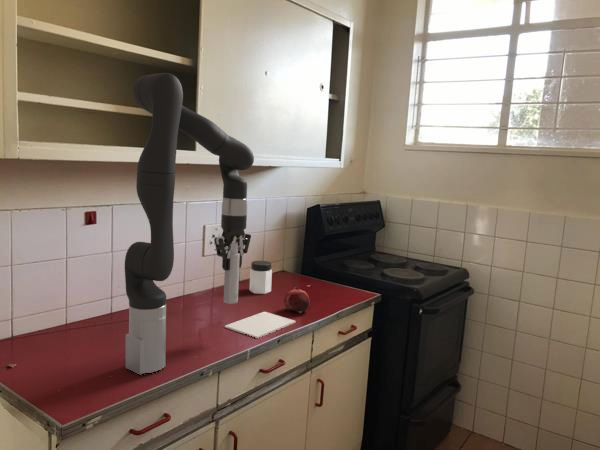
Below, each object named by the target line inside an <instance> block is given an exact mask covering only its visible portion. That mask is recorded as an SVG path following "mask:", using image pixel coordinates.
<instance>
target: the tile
mask: <svg viewBox="0 0 600 450" xmlns="http://www.w3.org/2000/svg"><path fill="white" fill-rule="evenodd" d="M295 323H297V321H296V320H294V319H291V318H287V317H284V316H281V315H277V314H274V313H271V312H267V311H262V312H259V313H256V314H253V315H252V316H248V317H245V318H242V319H240V320H237V321H234V322H232V323H228V324H226V325H224V328H226V329H228V330H231V331H234V332H237V333H240V334H243V335H245V334H247V335H246V336H248V335H249V337H251V336H252V338H254V337H255V339H257V338H258V339H260V338H262V336H263V337H265V336H268V335H269V333H270V334H271V333H272V334H273V333H274V332H276V330H277V331H279V330H281V328H282V329H283V328H286V327H288V326H291V325H293V324H295ZM259 337H260V338H259Z"/></svg>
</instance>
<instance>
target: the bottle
mask: <svg viewBox="0 0 600 450" xmlns="http://www.w3.org/2000/svg"><path fill="white" fill-rule="evenodd" d="M237 239H239V238H237ZM227 248H229V247H228V246H227ZM238 251H239V249H238V242H235V244H234V248H233V251H232V252H231V255H230V270H228V271H226V270H224V278H223V279H224V283H223V285H224V286H223V303H225V304H228V305H229V304H232V305H233V304H237V303H238V302H239V301H238V300H239V282H240V281H239V278H240V277H239V276H240V268H239V260H240V254H239V253H238ZM226 254H227V252H226Z"/></svg>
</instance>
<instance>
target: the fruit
mask: <svg viewBox="0 0 600 450" xmlns="http://www.w3.org/2000/svg"><path fill="white" fill-rule="evenodd" d="M296 285H297V286H295V285H293V289H292V290H290V291H288V292H287V293H286V294H285V295H284V299H283V304H284V307H285V309H287V310H288V311H291V312H292V311H293V312H296V313H299V314H303V312H305V311H307V310H308V309H309V308H310V307H309V306H310V304H311V303H310V297H309V294H308V293H307V292H306V291H305V290H302V289H300V287H299V284H296Z"/></svg>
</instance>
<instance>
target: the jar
mask: <svg viewBox="0 0 600 450" xmlns="http://www.w3.org/2000/svg"><path fill="white" fill-rule="evenodd" d="M250 265H251V268H250V270H249V291H250V293H253V294H256V295H257V294H258V295H266V294H269V293H270V292H272V280H273V279H272V276H273V270H272V263H271V261H267V260H254V261H251V263H250Z"/></svg>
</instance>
